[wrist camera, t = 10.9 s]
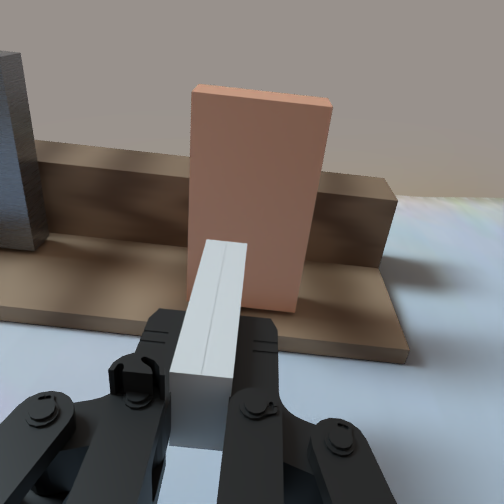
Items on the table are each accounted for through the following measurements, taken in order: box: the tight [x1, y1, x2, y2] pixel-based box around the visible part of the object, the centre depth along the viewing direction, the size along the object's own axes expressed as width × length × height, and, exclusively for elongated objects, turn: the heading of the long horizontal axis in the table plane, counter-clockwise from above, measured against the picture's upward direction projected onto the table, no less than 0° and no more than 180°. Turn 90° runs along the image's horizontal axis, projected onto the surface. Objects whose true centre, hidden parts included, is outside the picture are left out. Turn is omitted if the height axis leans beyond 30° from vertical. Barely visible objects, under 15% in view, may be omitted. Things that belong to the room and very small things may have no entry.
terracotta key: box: [186, 84, 333, 313], centre depth 22 cm, size 6×2×11 cm, turn 87°
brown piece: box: [0, 140, 410, 364], centre depth 27 cm, size 34×12×6 cm, turn 87°
